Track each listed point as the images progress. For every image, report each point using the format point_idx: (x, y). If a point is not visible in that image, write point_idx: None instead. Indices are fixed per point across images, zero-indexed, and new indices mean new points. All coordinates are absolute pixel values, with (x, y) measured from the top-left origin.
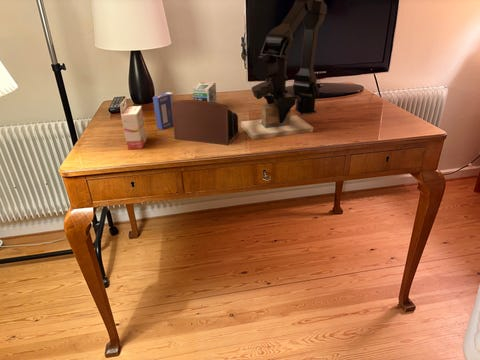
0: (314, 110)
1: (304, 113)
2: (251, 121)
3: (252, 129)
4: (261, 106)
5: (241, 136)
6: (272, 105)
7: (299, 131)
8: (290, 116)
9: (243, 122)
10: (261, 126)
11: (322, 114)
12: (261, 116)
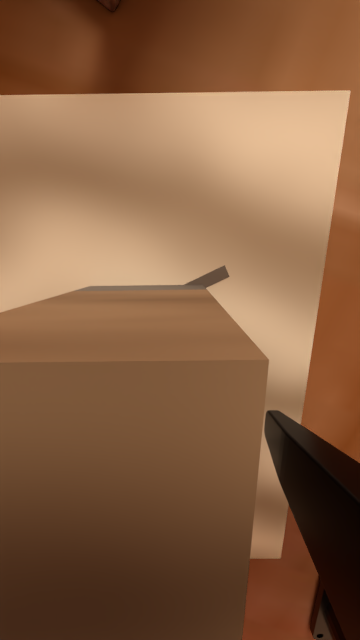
0: (328, 636)
1: (319, 586)
2: (303, 213)
3: (86, 151)
4: (248, 339)
5: (58, 34)
6: (94, 581)
7: None
8: (270, 521)
9: (314, 114)
10: (141, 265)
11: (271, 636)
12: (208, 295)
